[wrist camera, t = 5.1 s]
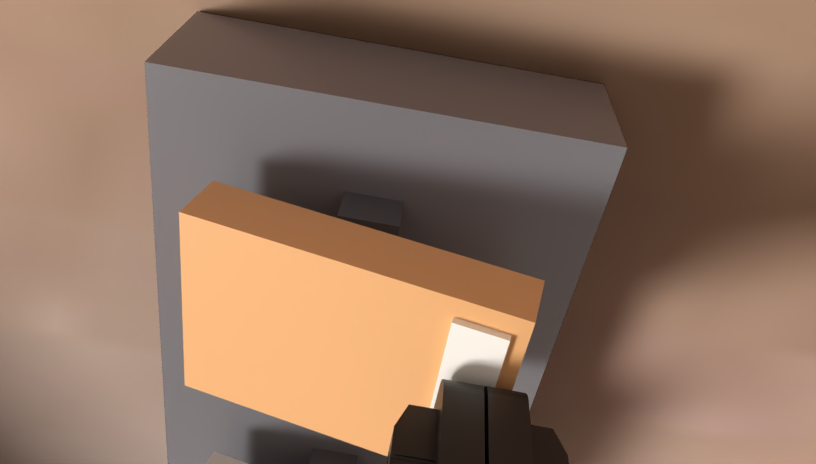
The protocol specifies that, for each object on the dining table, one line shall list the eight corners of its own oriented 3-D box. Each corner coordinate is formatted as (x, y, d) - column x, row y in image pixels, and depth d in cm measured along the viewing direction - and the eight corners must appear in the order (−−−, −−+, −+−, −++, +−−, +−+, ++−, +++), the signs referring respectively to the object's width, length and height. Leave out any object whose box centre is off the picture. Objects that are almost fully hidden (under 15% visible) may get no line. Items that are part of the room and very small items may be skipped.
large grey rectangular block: (197, 11, 16) (124, 80, 12) (603, 84, 16) (636, 171, 13) (203, 470, 25) (162, 579, 21) (461, 512, 25) (458, 627, 22)
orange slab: (213, 180, 13) (174, 216, 12) (545, 280, 13) (534, 328, 11) (213, 348, 16) (180, 390, 15) (490, 442, 15) (476, 494, 14)
